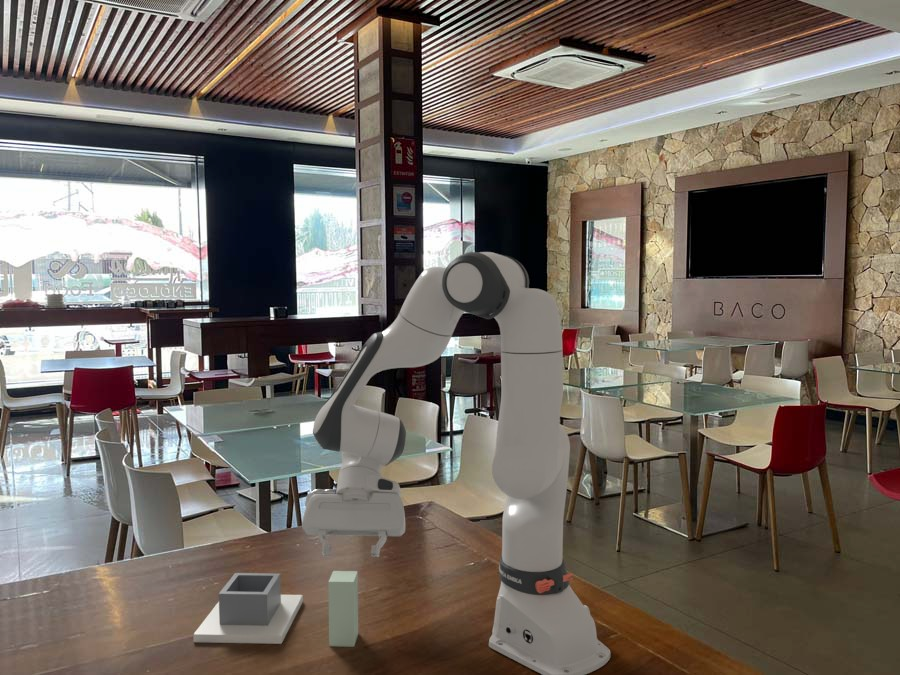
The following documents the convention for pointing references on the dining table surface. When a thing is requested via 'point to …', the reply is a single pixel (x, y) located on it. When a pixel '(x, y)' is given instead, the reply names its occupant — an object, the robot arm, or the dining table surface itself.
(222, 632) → the well stand
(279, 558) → the dining table surface
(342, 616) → the sage block
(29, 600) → the dining table surface
